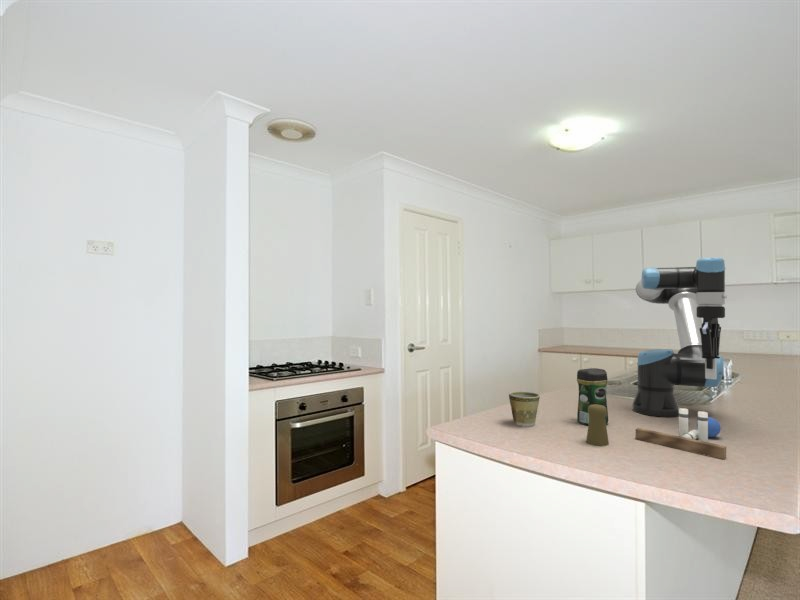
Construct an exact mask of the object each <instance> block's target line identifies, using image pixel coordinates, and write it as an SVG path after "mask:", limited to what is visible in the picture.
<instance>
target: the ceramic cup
mask: <svg viewBox="0 0 800 600" xmlns="http://www.w3.org/2000/svg"><path fill="white" fill-rule="evenodd" d="M540 396H541V395H540V394H538V393H536V392H531V391H511V392H509V393H508V397H509V404H510V408H511V415H512V422H513V423H514V425H516V426H518V427H523V428H525V427H527V428H530V427H533V426H535V424H536V421H537V414H538V409H539V406H540V405H539V404H540Z"/></svg>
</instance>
